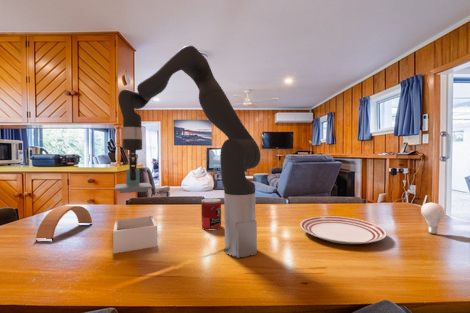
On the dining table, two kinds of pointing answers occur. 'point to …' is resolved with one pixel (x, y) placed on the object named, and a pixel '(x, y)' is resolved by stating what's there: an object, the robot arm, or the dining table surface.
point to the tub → (134, 234)
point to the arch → (54, 217)
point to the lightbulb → (432, 216)
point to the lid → (132, 184)
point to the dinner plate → (343, 230)
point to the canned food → (211, 213)
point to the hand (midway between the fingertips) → (133, 179)
